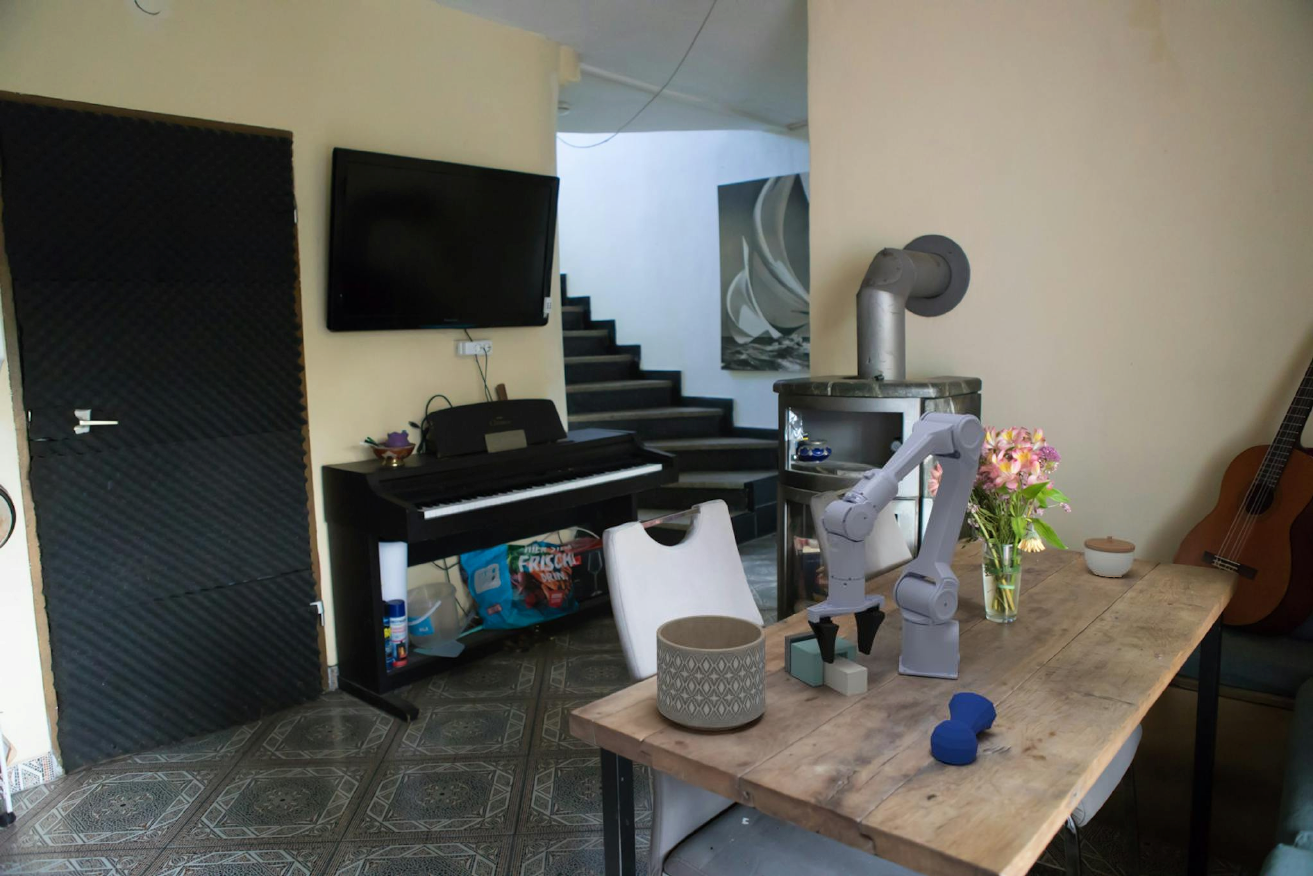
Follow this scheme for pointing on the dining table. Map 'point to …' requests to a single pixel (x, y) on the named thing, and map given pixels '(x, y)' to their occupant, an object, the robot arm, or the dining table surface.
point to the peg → (845, 676)
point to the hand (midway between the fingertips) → (846, 657)
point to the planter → (711, 671)
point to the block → (816, 659)
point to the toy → (962, 728)
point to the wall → (795, 639)
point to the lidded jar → (1109, 555)
